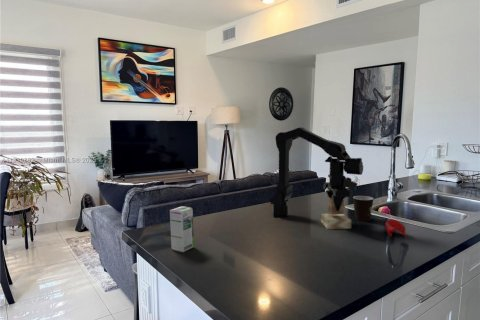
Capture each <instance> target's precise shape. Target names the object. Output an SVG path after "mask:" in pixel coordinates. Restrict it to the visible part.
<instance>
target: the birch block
mask: <svg viewBox="0 0 480 320" xmlns="http://www.w3.org/2000/svg"><path fill="white" fill-rule="evenodd" d="M320 222H321V224H322V225H323V226H324V227H325V228H326V230H327V229H329V230H333V229H336V230H338V229H339V230H340V229H352V219H351V218H350V217H349V216H348V215H346V214H345V213H344V214H331V213H321V214H320Z"/></svg>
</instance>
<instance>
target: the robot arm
mask: <svg viewBox="0 0 480 320" xmlns="http://www.w3.org/2000/svg"><path fill="white" fill-rule="evenodd" d="M299 138H301V139H303V140H305V141H307V142H308V143H311V144H313V145H315V146H317V147H319V148H320V149H322V151H324V152H325V153H326V154H327V155H328V157H327V158H326V159H325V160H324V163H329V174H328V175H327V177H328V178H329V181H328V182H327V181H326V182H324V183H323V189H324V190H325V193H326V195H327V197H328V199H329V198H332V199H333V202H334V205H335V208H336V210H337V211H339V209H340V207H341V204H342V201H343V200H345V199H346V198H350V197H351V195H352V194H351V193H352V192H351V191H350V189H351V190H352V191H356V189H357V186H358V183H357V182H355V181H353V180H352V178H350V177H348V176H347V177H346V175H344V174H347V175H357V176H358V175H362V174H363V172H364V164H363V158H362V157H351V156H350V155H349V153H348V151H346V146H345V144H343V143H341V142H337V141H333V140H330V139H329V140H328V139H326V138H324V137H322V136H321V135H318V134H316V133H314V132H312V131H310V130H307V128H305V127H301V126H300V127H296V128H294V129H291V130H288V131H283V132H281V131H280V132H278V133H277V134H276V135H275V145H276V148H277V151H278V181H277V184H276V187H275V191H274V195H273V196H272V197H271V198H270V199H269V202H270V204H271V205H272V212H271V214H272V217H273V218H286V217H287V218H288V214H289V212H288V211H289V210H288V204H287V202H289V199H291V197H292V195H293V194H294V192H293V191H294V190H293V187H294V186H293V185H291V184H290V177H289V176H290V171H289V170H290V151H291V148H292V145H293V141H295V140H297V139H299ZM344 172H345V173H344Z"/></svg>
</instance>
